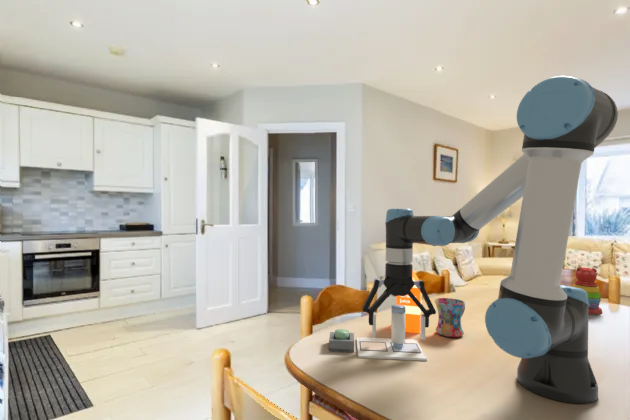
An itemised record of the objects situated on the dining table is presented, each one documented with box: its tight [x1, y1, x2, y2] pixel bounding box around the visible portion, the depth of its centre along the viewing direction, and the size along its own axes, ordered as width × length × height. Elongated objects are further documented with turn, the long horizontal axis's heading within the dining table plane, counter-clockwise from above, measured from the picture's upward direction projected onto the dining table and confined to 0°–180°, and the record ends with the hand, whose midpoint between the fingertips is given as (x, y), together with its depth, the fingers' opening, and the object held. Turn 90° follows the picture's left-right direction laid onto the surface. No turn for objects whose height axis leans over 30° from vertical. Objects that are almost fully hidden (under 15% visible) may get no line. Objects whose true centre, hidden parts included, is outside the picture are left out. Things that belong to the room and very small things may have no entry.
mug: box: [434, 297, 466, 338], centre depth 116 cm, size 12×9×11 cm
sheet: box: [356, 336, 428, 362], centre depth 102 cm, size 14×18×1 cm
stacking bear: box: [572, 266, 603, 315], centre depth 144 cm, size 11×10×18 cm
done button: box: [334, 328, 350, 340], centre depth 103 cm, size 4×4×2 cm
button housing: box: [328, 331, 355, 353], centre depth 103 cm, size 7×7×3 cm
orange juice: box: [395, 269, 423, 334], centre depth 121 cm, size 8×9×20 cm
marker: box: [390, 304, 406, 349], centre depth 102 cm, size 4×4×12 cm
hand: (398, 337), depth 102 cm, fingers open, 13 cm apart
